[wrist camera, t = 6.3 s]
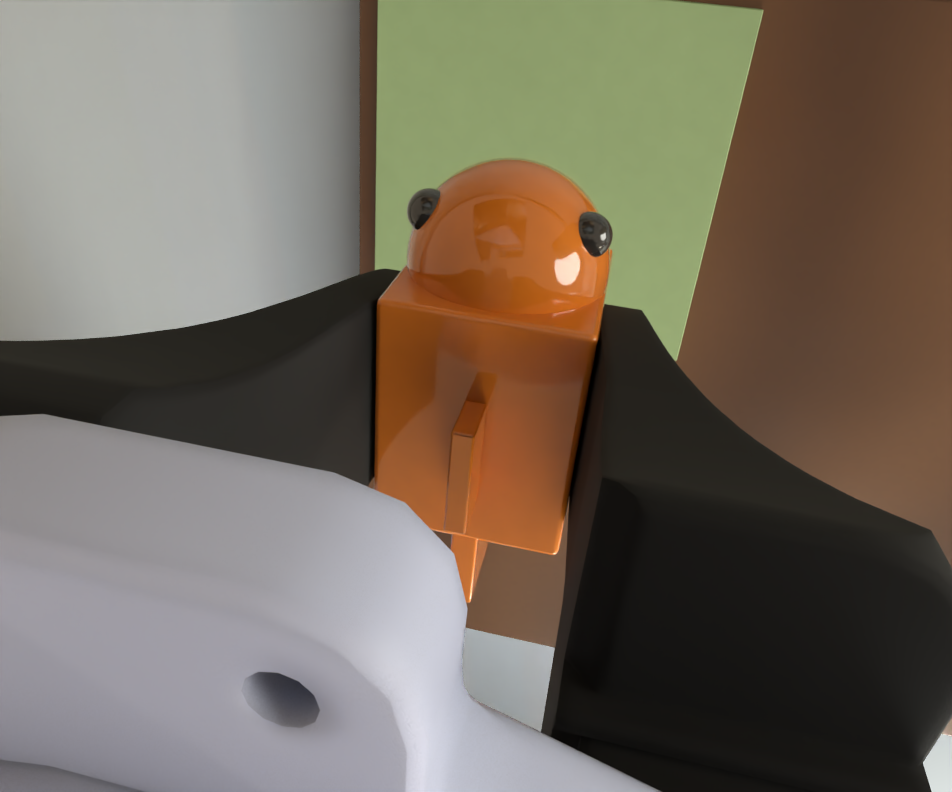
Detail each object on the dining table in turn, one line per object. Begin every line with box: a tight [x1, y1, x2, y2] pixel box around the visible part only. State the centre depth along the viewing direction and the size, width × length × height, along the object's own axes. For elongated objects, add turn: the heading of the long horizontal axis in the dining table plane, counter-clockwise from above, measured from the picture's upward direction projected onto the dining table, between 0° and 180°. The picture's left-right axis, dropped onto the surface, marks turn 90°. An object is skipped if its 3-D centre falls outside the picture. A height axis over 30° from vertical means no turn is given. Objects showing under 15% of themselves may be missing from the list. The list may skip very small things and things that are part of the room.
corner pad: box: [375, 0, 763, 361], centre depth 18 cm, size 8×8×1 cm
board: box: [360, 0, 952, 736], centre depth 21 cm, size 20×20×1 cm
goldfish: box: [374, 157, 613, 603], centre depth 11 cm, size 6×3×4 cm, turn 175°
